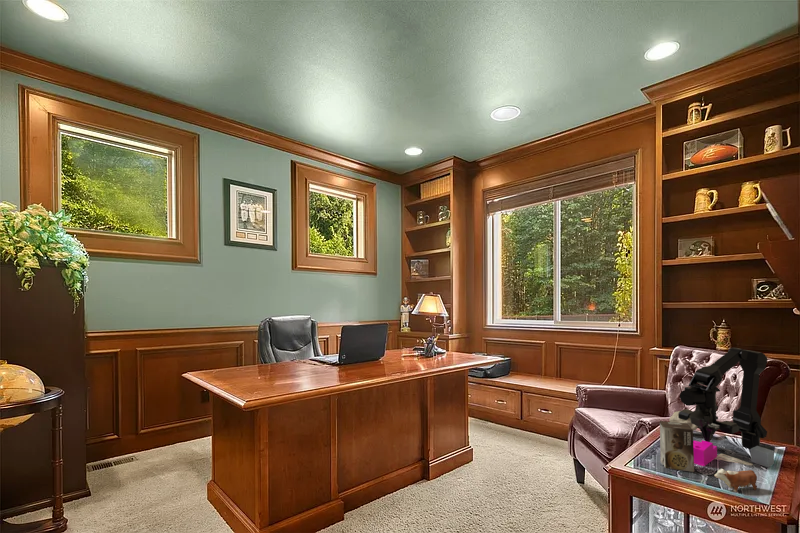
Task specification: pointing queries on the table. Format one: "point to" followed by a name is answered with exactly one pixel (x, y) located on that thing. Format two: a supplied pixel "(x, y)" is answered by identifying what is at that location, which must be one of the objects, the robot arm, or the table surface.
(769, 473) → the table surface
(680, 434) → the beige tall box
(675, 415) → the fossil replica
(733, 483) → the bull figurine
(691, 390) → the robot arm
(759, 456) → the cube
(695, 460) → the toy block
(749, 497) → the table surface
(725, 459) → the letter
